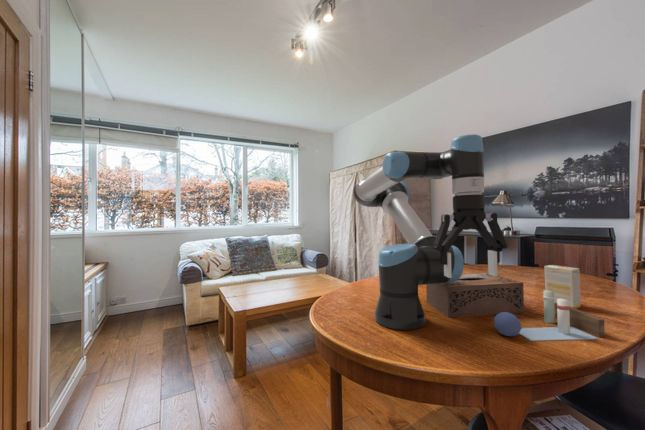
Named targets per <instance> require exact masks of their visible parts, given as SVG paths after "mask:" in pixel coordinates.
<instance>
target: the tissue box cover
mask: <svg viewBox="0 0 645 430" xmlns="http://www.w3.org/2000/svg"><path fill="white" fill-rule="evenodd" d="M425 290H426V291H425V292H426V303H427V304H429V305H430V306H431V307H433V308H434V309H436V310H437V311H439V312H440V313H441V314H443V315H445V316H446V317H447V318H454V317H471V316H487V315H488V316H489V315H497V314H499V313H501V312H508V313H511V314H517V313H518V314H519V313H525V302H524V299H525V297H524V293H525V292H524V282H522V281H519V280H516V279H513V278H510V277H506V276H504V275H500V274H498V276H492V275H489V274H488V272H483V273H465V274H464V273H462V275H461V277H460V278H459V279H458V280H457V281H454V282H448V283H437V284H426V285H425Z"/></svg>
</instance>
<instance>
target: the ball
mask: <svg viewBox="0 0 645 430" xmlns="http://www.w3.org/2000/svg"><path fill="white" fill-rule="evenodd" d="M493 324H494V327H495V329H496V330H497V332H499V333H500V334H501V335H503V336H505V337H506V336H507V337H515V336H517V335H519V332H520V330H521V328H522V323H521V320H520V319H519V318H518V317H517V316H516V315H515V314H514V313H508V312H501V313H499V314H495V316H494V318H493Z"/></svg>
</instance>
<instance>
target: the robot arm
mask: <svg viewBox="0 0 645 430" xmlns="http://www.w3.org/2000/svg"><path fill="white" fill-rule="evenodd" d="M484 152H485V149H484V143H483V137H482V136H481V135H479V134H463V135H459V136H457V137H454V138H453V139H452V140H451V142H450V149H448V150H445V151H441V152H437V151H436V152H432V151H431V152H429V151H427V152H426V151H424V152H423V151H421V152H419V151H392V152H388V153H386V154H385V156H384V158H383V161H382V166H381V167H380V168H378V169H377V170H376V171H374V172H373V173H371V174H370V175H369V176H368V177H366V178H362V179H360V180H359V181H358V182H356V183H355V185H354V186H353V188H352V189H353V190H352V193H353V194H352V195H353V198H354V199H355V201H356V202H357V203H358V204H360V206H364V207H366V208H367V207H368V208H377V207H378V208H381V209H382V210H383V212H384V213H385V214H387V215H388V214H389V215H390V216H391V218H392V220H393V222H394V223H395V224H396V226H397V228H398V230H399V231H400V233H401V234H402V236H403V238H404V239H405V241H406V243H396V244H391V245H387V246H384V247H382V248H381V249H380V250H379V252H378V261H377V262H378V263H377V265H378V277H379V278H378V280H379V282H378V283H379V297H378V300H377V302H376V306H375V310H374V320H375V322H376V323H378V325H380V326H382V327H384V328H389V329H392V330H398V331H411V330H416V329H420V328H422V327H424V326H425V324H426V314H425V311H424V308H423V305H422V303H421V300H420V296H419V286H426V284H437V283H448V282H454V281H457V280H458V279H459V278H460V277H461V275H462V274H464V273H463V272H464V269H465V266H464V264H465V263H464V262H465V261H464V256H463V254H462V251H461V250H460V249H459V248H458V247H457V246H455V245H453V244H454V243H455V242H456V240H457V239H458V237H459V235H460V233H462V232H463V231H465V230H466V231H467V230H476V231H477V233H478V234H479V235H480V236H481V238H482V239H483V241H484V242H485V243H486V244H487V246H488V247H489V248H490V249H488V250H487V273H488V274H489V275H492V276H498V275H499V274H498V272H499V271H498V264H500V262H501V255H500V254H501V252H502V251H503V249H507V248H508V246H509V245H508V244H507V241H506V239H505V236H504V233H503V232H502V229H501V226H500V224H499V223H498V213H496V212H488V213H486V212H485V207H486V203H485V202H486V200H485V199H486V198H485V194H483V193H484V192H485V174H484V173H485V171H484V170H485V165H484V163H485V162H484V161H485V158H484V156H485V155H484ZM448 177H451V179H452V180H451V186H452V187H451V191H452V192H451V193H452V194H453V197H452V210H453V212H452V214H448V213H447V214H441V216H440V217H441V219H440V220H441V222H440V225H439V229H438V231H437V234H436V235H433V234H432V233H431V231H429V229H428V227H427V226H426V225H425V224H424V222H423V221H422V220H421V218H420V216H418V214H417V213H416V211H415V210H414V209H413V207H412V206H411V205H410V204H409V200H410V191H409V187H408V186H407V184H406V183H405V182H404V181H405V180H407V179H427V178H428V179H430V180H441V179H442V180H443V179H444V178H448ZM452 221H454V224H453V226H452V227H451V230H450V231H449V233H448V230H449V227H450V225H451V223H452ZM484 221H487V225H488V227H489V230H490V232H491V233H490V232H489V230H488V227H487V226H486V224H485V223H484ZM447 234H448V235H447Z"/></svg>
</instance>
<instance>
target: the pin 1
mask: <svg viewBox="0 0 645 430" xmlns="http://www.w3.org/2000/svg"><path fill="white" fill-rule="evenodd" d="M542 295H543V296H542V297H543V321H544V323H547V324H556V318H555V304H554V292H553V291H548V290H545V289H544V290H543V294H542Z"/></svg>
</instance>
